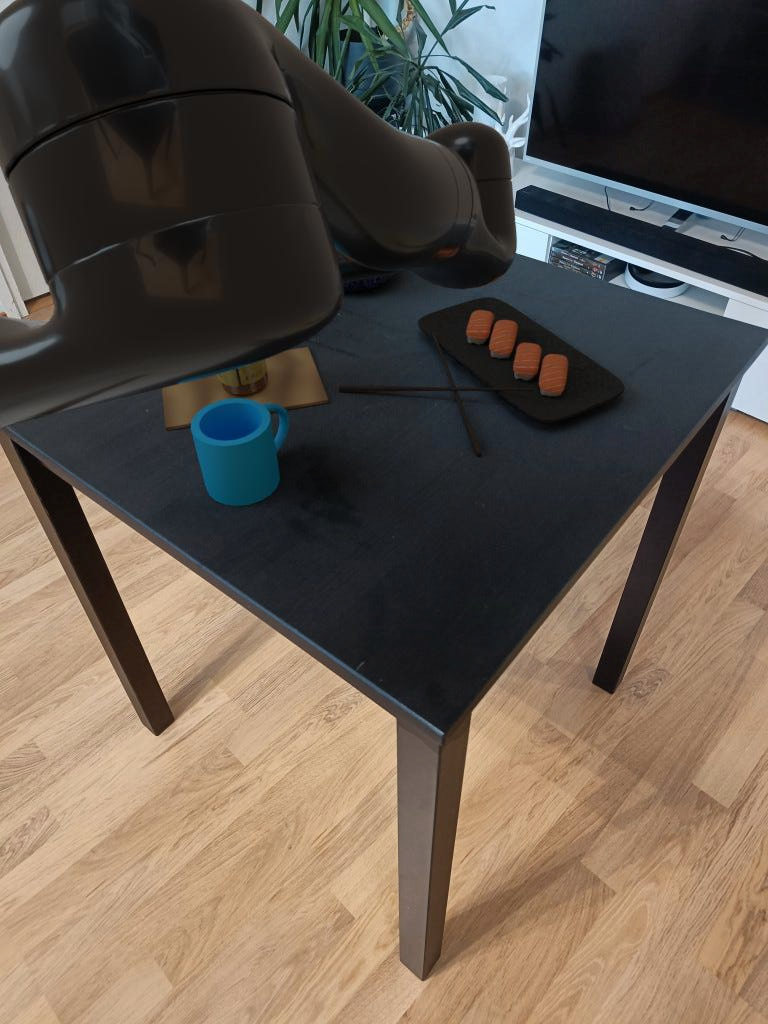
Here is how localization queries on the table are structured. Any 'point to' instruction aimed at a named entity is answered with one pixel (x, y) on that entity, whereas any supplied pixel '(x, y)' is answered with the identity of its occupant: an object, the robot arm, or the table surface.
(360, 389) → the sushi plate
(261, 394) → the wooden board
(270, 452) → the mug
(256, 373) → the sauce bottle
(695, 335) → the table surface
